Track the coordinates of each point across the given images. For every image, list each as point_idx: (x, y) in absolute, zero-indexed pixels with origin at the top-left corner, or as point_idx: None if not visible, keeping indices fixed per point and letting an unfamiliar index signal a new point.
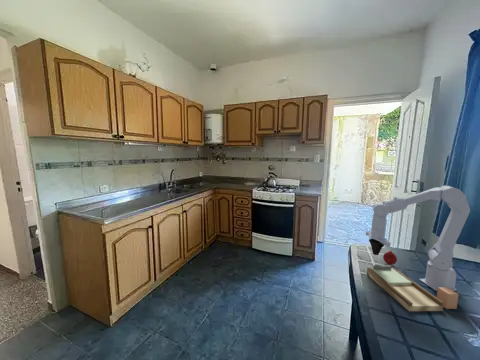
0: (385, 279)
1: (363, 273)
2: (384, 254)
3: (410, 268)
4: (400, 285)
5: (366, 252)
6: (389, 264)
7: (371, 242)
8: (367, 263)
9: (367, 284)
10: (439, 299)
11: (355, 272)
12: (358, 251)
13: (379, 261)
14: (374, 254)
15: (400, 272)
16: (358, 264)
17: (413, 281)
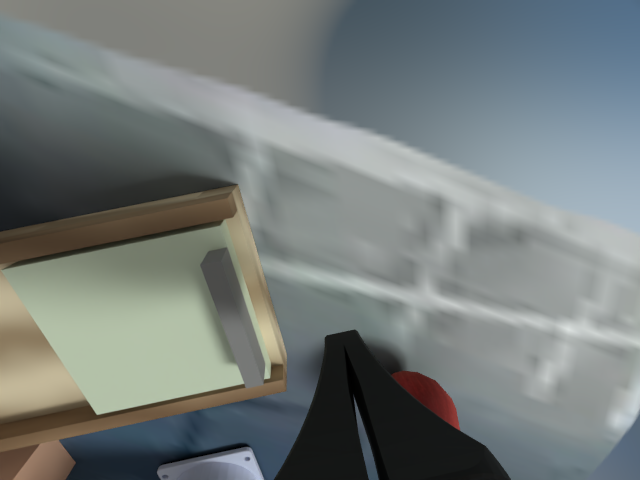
0: (49, 268)
1: (240, 161)
2: (439, 411)
3: (369, 453)
4: None
5: (568, 311)
6: None
7: (393, 453)
8: (407, 256)
9: (59, 121)
10: (17, 456)
11: (239, 93)
12: (592, 262)
13: (440, 342)
14: (326, 338)
15: (219, 403)
16: (386, 179)
17: (115, 426)
